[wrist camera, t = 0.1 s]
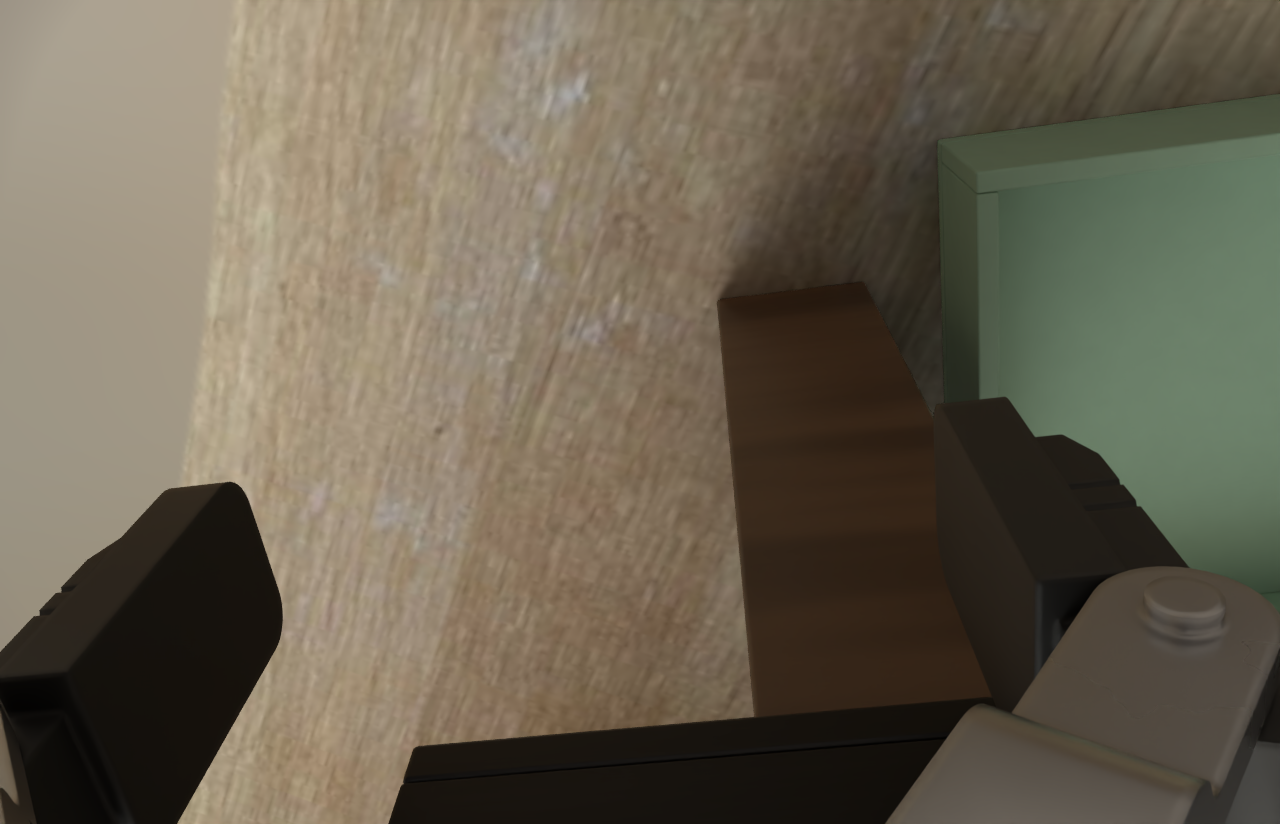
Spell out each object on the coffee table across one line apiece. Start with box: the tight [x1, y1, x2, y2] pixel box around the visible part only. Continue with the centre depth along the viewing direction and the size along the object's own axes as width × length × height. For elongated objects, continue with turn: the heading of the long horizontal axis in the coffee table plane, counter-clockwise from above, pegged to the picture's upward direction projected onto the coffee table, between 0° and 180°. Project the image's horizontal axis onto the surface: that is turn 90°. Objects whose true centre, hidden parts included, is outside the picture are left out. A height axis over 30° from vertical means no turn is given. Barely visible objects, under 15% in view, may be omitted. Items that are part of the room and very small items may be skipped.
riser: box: [717, 282, 992, 717], centre depth 22 cm, size 8×4×18 cm, turn 8°
